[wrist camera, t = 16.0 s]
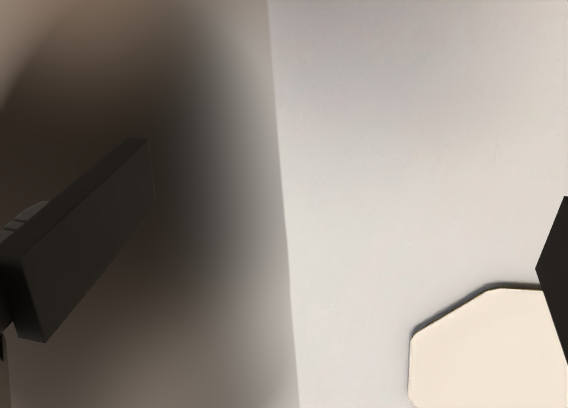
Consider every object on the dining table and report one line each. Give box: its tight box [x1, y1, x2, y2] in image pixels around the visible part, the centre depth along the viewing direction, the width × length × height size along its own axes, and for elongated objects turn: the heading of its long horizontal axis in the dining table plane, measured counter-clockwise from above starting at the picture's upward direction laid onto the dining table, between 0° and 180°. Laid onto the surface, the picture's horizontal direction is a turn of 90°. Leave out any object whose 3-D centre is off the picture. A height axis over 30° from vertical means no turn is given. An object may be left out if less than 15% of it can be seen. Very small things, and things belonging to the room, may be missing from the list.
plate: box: [408, 287, 568, 408], centre depth 58 cm, size 28×28×2 cm
